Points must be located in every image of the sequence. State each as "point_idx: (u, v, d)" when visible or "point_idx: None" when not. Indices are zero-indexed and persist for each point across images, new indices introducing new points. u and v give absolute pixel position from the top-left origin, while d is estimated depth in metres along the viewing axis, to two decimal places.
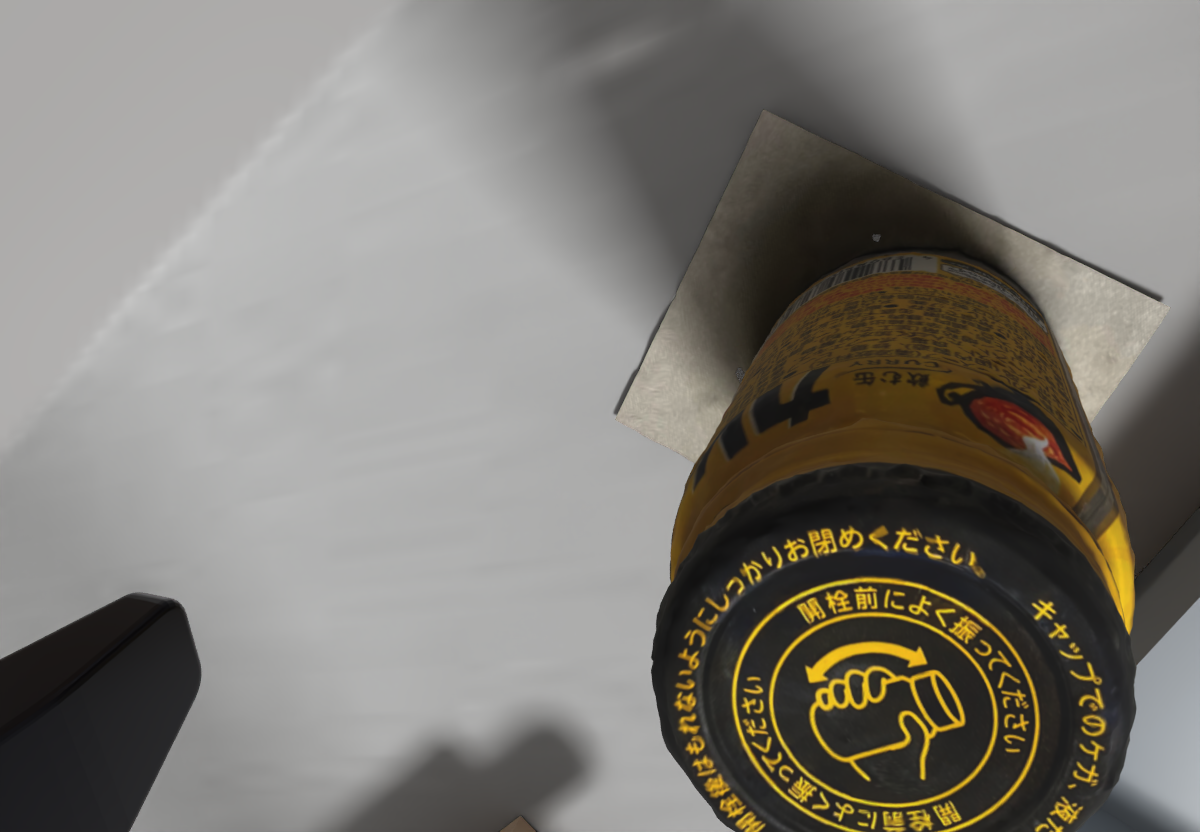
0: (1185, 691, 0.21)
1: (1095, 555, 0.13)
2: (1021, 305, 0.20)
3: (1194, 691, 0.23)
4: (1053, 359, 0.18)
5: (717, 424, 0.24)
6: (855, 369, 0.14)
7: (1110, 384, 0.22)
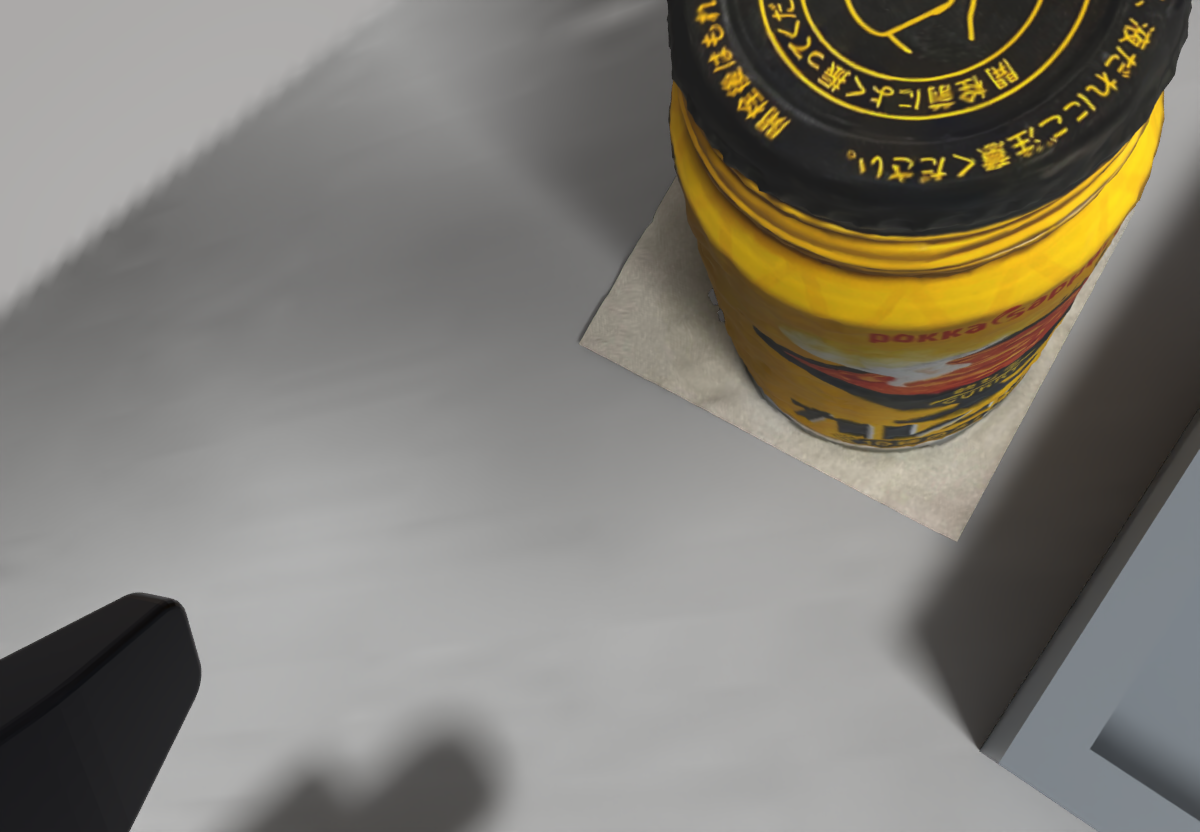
0: None
1: None
2: None
3: None
4: None
5: (686, 347, 0.23)
6: None
7: (1086, 287, 0.22)
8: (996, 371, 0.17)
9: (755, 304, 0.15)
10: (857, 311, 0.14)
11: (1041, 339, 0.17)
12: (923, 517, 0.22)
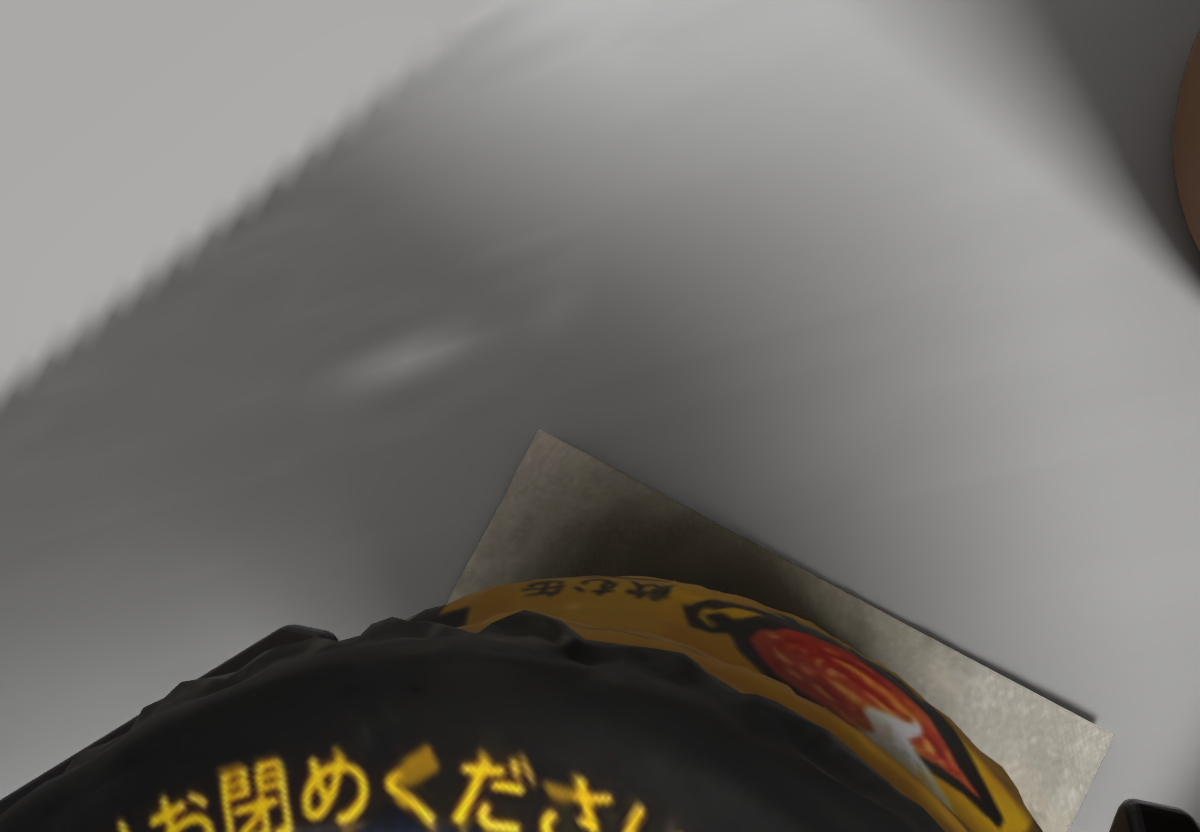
0: None
1: None
2: None
3: None
4: None
5: None
6: (535, 582, 0.07)
7: None
8: None
9: None
10: None
11: None
12: None
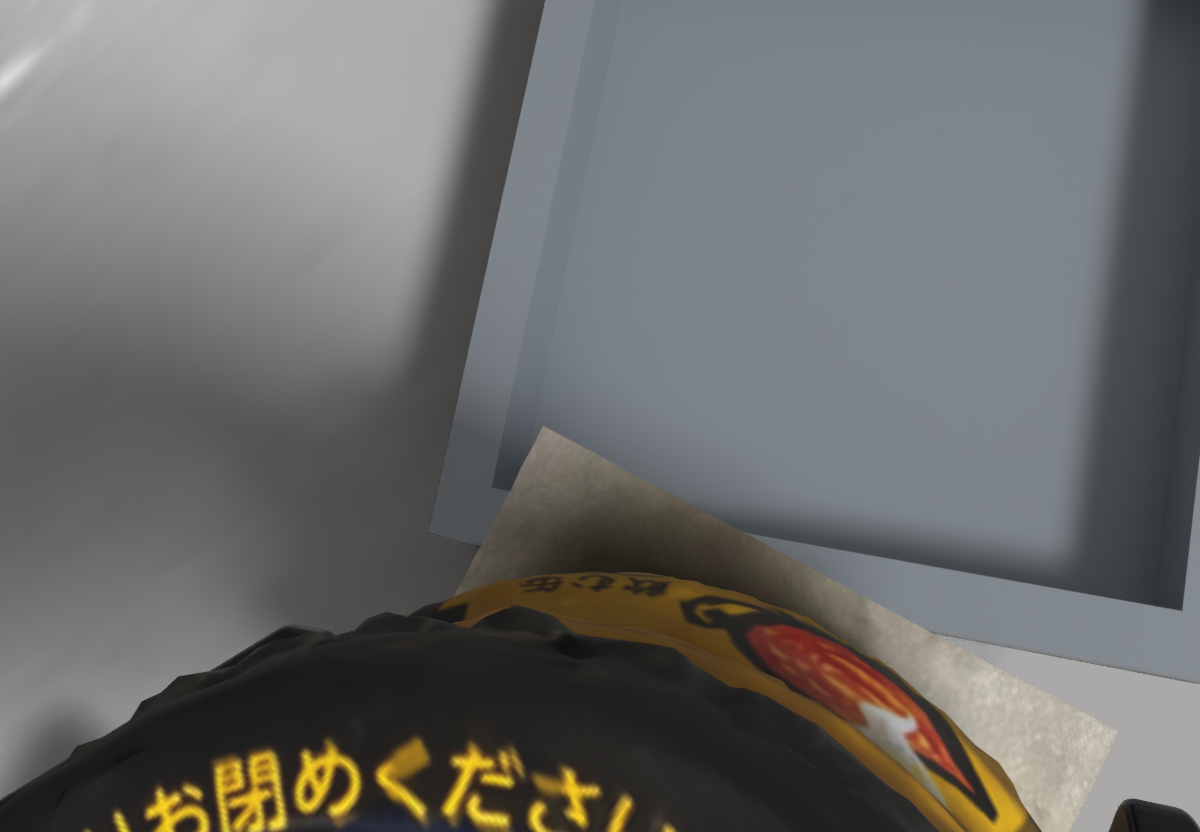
0: (533, 285, 0.21)
1: None
2: None
3: (600, 346, 0.23)
4: None
5: None
6: (533, 578, 0.07)
7: None
8: None
9: None
10: None
11: None
12: None
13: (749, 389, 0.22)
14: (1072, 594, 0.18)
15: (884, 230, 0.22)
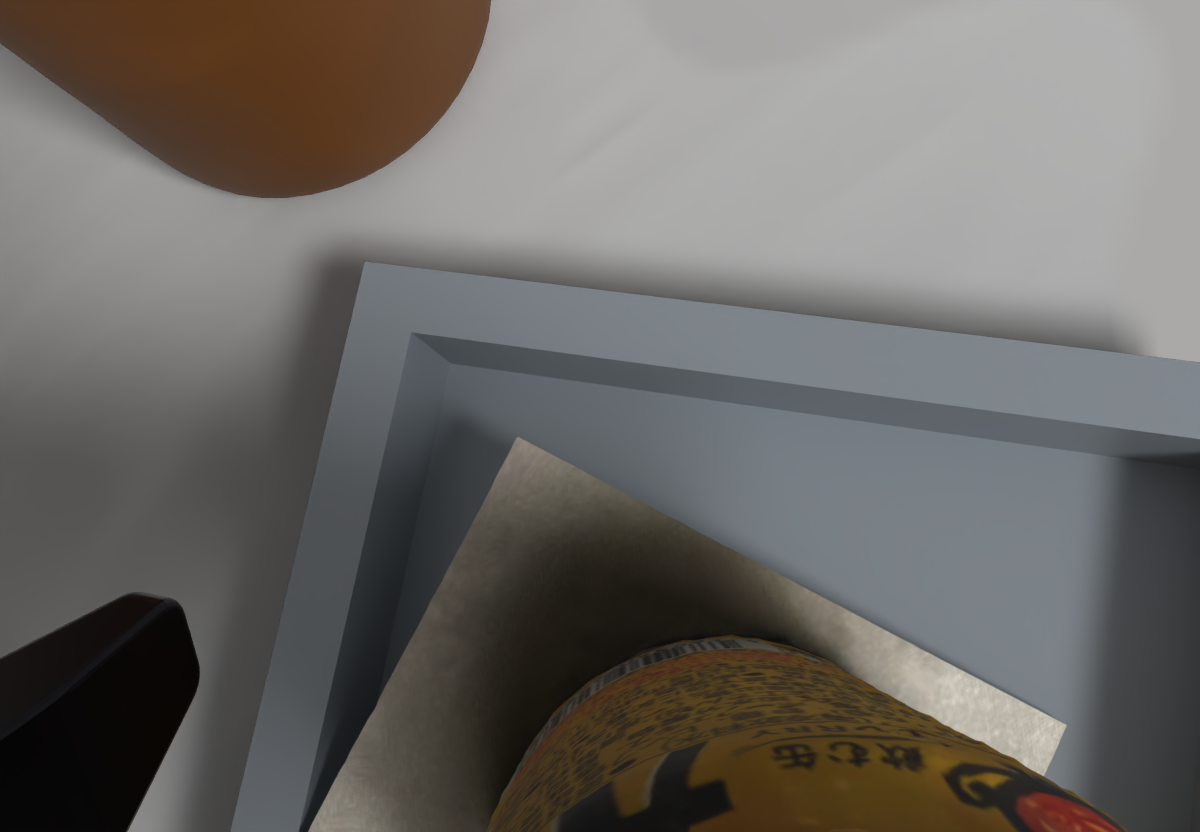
0: None
1: None
2: None
3: None
4: None
5: None
6: (768, 740, 0.07)
7: None
8: None
9: None
10: None
11: None
12: None
13: None
14: None
15: None
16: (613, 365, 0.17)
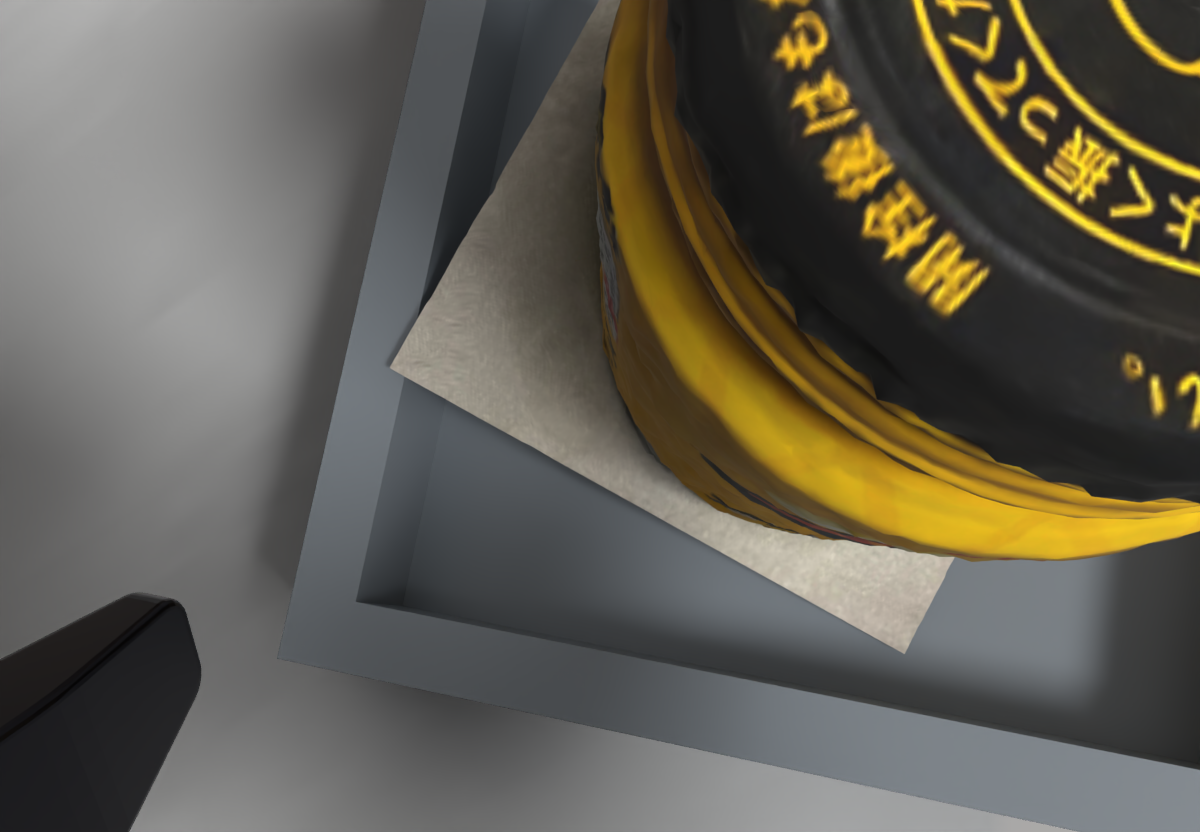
0: None
1: None
2: None
3: None
4: None
5: (543, 376, 0.17)
6: None
7: None
8: None
9: (739, 468, 0.09)
10: (954, 535, 0.07)
11: None
12: (861, 619, 0.16)
13: None
14: (1097, 753, 0.14)
15: None
16: None
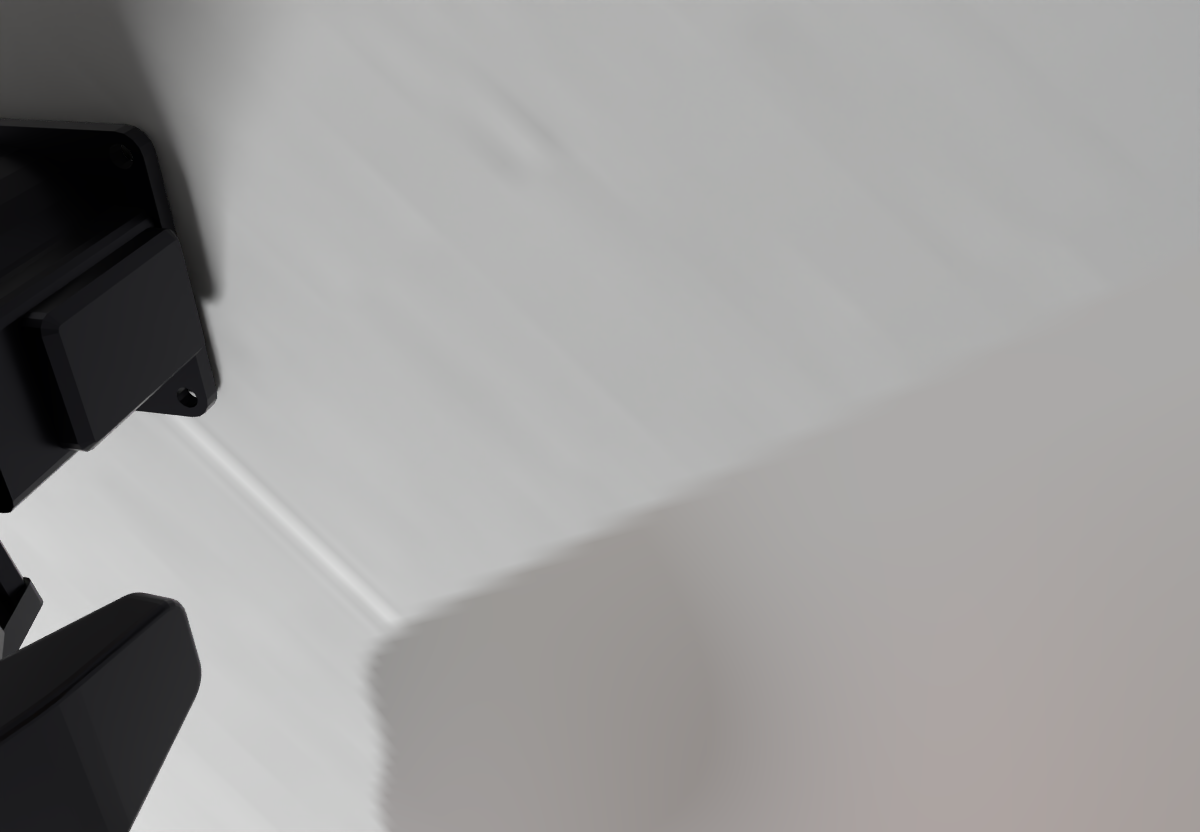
0: None
1: None
2: None
3: None
4: None
5: None
6: None
7: None
8: None
9: None
10: None
11: None
12: None
13: None
14: None
15: None
16: None
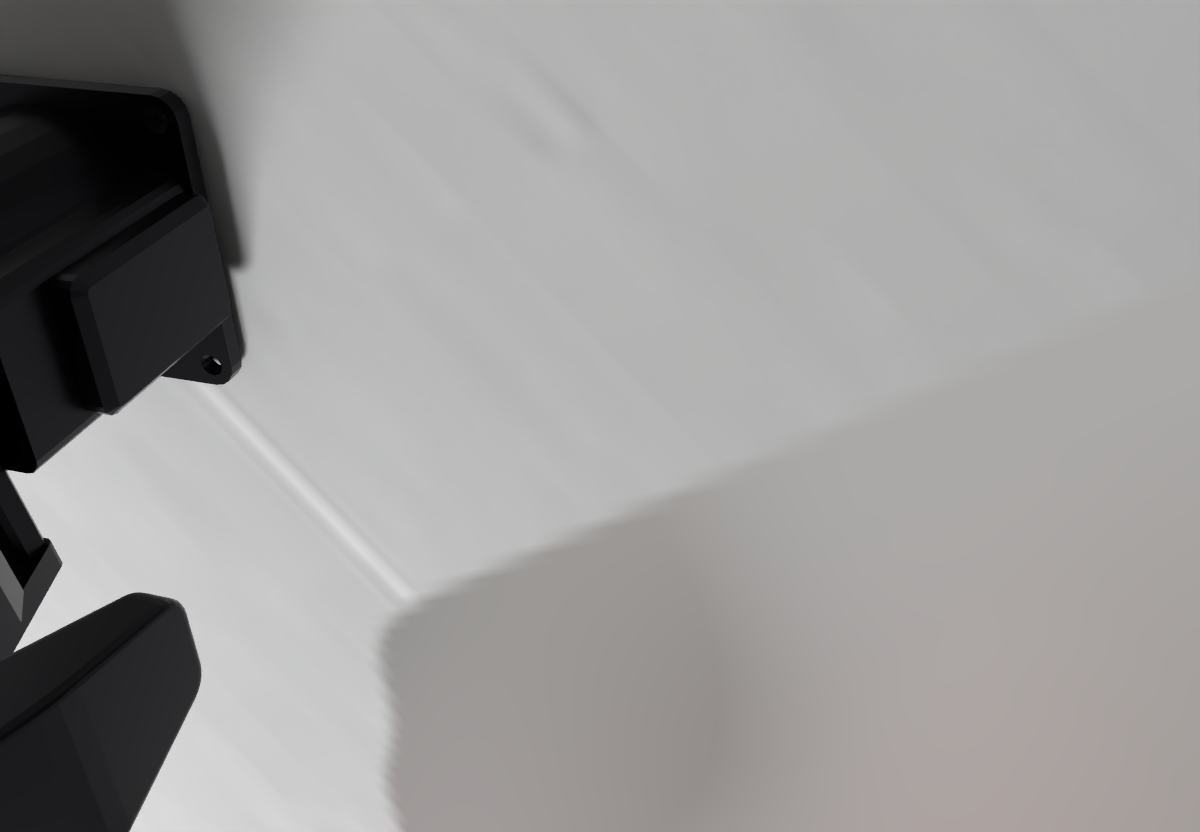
0: None
1: None
2: None
3: None
4: None
5: None
6: None
7: None
8: None
9: None
10: None
11: None
12: None
13: None
14: None
15: None
16: None
